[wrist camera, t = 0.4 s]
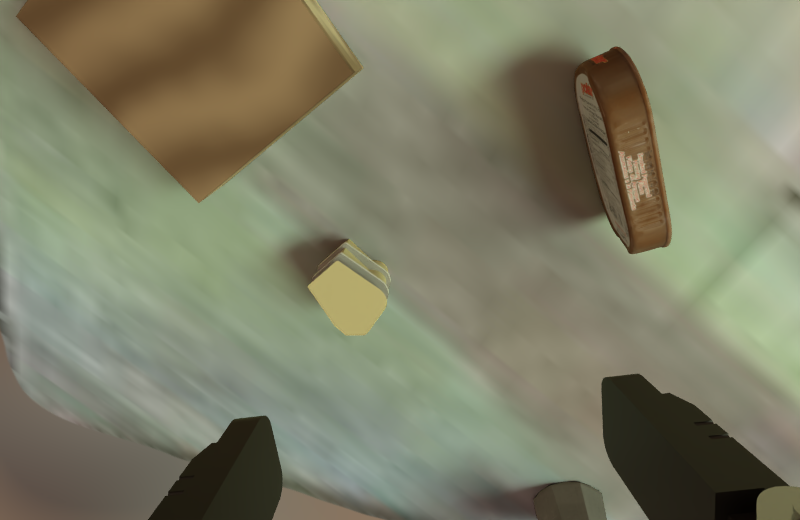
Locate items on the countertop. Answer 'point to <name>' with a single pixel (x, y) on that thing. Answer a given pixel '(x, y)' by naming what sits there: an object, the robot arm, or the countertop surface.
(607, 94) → the tin
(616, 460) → the robot arm
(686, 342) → the countertop surface
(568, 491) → the coffeepot
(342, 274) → the stacked layers on plate
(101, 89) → the plinth
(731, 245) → the countertop surface
